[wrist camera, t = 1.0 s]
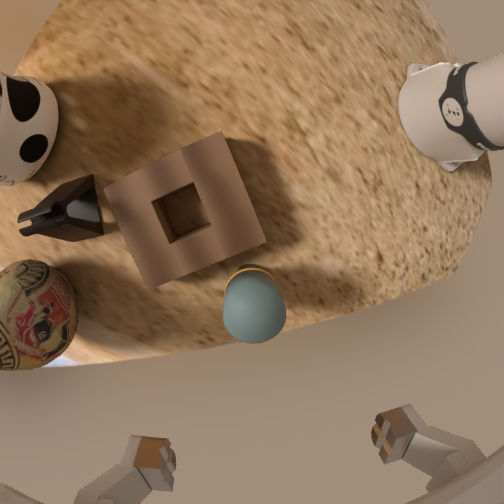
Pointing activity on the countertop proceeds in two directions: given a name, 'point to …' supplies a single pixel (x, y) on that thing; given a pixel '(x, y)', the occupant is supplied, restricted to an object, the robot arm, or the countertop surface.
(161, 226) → the board
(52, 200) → the phone stand
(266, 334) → the leg
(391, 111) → the countertop surface
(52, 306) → the ceramic jug
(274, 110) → the countertop surface
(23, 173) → the milk container
